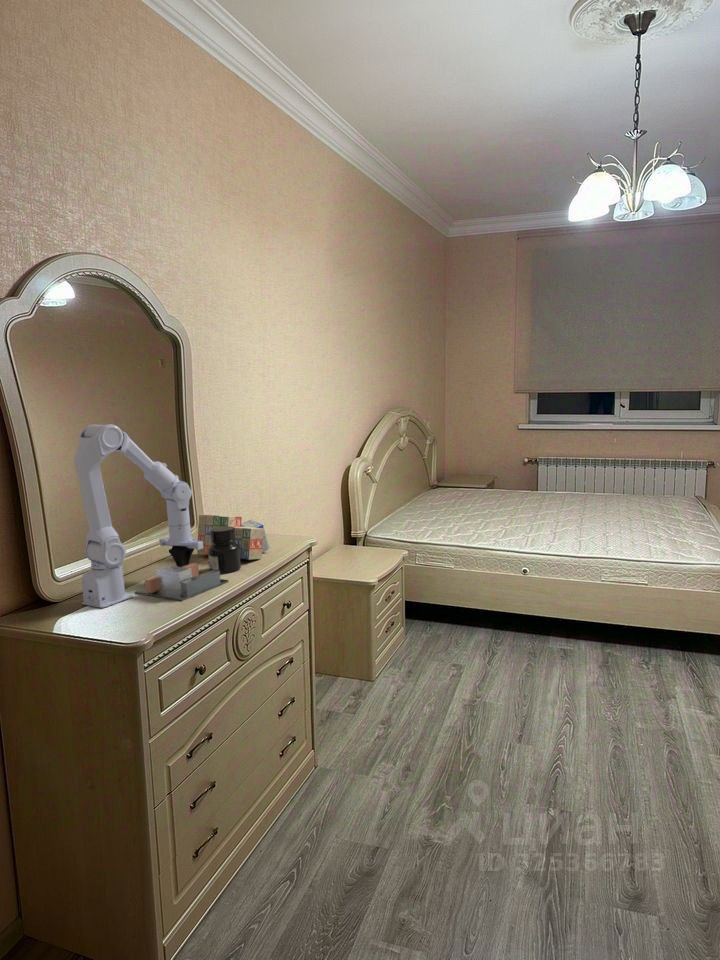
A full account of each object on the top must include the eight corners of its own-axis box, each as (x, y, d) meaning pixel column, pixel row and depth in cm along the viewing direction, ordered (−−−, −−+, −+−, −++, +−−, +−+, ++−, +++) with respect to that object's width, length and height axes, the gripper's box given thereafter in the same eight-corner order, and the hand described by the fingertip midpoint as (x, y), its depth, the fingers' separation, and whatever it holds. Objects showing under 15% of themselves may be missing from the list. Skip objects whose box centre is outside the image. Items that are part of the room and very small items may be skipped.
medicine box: (245, 548, 212) (238, 524, 209) (257, 542, 215) (250, 518, 212) (258, 555, 206) (251, 530, 203) (270, 548, 209) (263, 524, 206)
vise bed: (181, 601, 165) (180, 585, 164) (135, 593, 173) (133, 578, 172) (228, 582, 179) (227, 567, 178) (183, 575, 187) (181, 561, 187)
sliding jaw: (152, 593, 170) (151, 581, 169) (145, 592, 171) (144, 580, 170) (199, 575, 184) (198, 563, 184) (193, 574, 185) (192, 563, 185)
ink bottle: (211, 566, 196) (207, 526, 194) (241, 564, 197) (238, 524, 195) (208, 575, 186) (205, 533, 184) (240, 572, 187) (237, 531, 186)
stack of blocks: (262, 559, 201) (264, 518, 202) (248, 560, 196) (251, 518, 196) (210, 552, 213) (212, 514, 213) (196, 553, 207) (198, 513, 208)
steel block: (180, 595, 167) (178, 572, 166) (158, 592, 171) (156, 569, 171) (192, 591, 171) (190, 568, 170) (169, 587, 175) (167, 565, 174)
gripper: (209, 522, 181) (213, 571, 183) (171, 519, 189) (175, 566, 191) (190, 528, 175) (195, 578, 177) (151, 524, 183) (156, 573, 185)
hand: (183, 572), depth 184 cm, fingers closed
